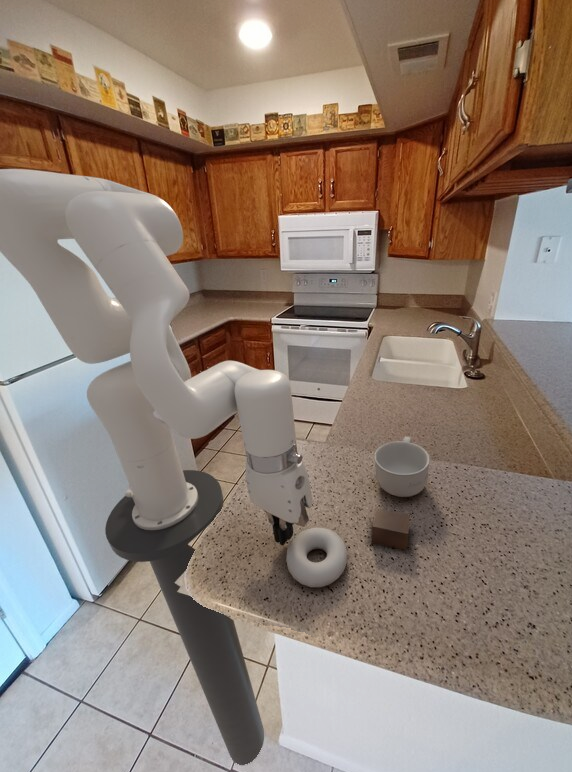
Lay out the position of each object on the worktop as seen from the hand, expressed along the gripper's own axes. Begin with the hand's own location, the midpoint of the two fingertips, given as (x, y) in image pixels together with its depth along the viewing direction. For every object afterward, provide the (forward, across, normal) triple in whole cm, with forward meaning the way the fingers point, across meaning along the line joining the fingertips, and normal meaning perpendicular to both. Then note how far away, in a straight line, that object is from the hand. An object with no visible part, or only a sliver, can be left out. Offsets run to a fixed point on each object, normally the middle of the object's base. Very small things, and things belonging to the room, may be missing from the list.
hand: (284, 537), depth 57 cm
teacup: (+2, -12, -25) cm, 28 cm away
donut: (+2, -7, 0) cm, 7 cm away
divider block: (+2, -15, -10) cm, 19 cm away
